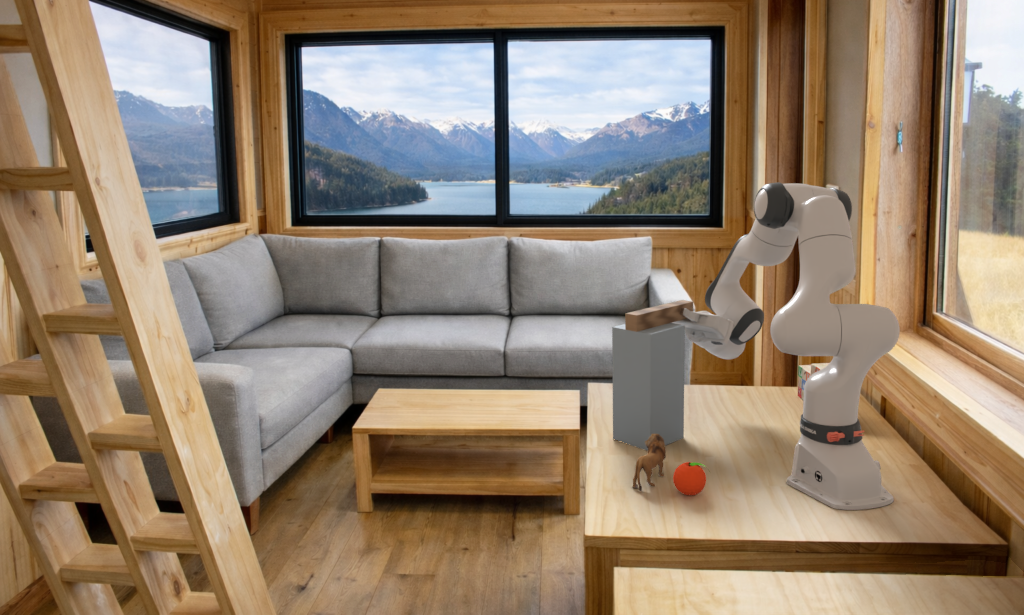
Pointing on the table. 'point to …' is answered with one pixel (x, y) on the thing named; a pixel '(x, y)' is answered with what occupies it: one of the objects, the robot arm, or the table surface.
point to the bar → (656, 315)
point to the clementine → (689, 478)
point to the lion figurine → (650, 460)
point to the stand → (648, 383)
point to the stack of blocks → (807, 375)
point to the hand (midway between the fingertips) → (674, 309)
